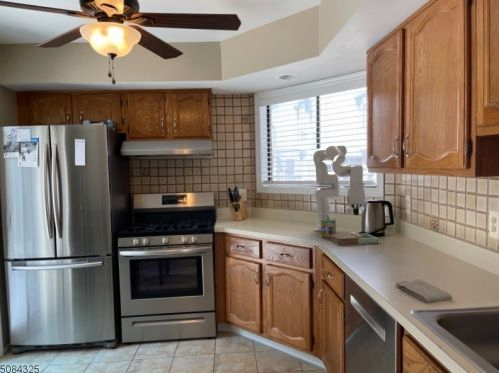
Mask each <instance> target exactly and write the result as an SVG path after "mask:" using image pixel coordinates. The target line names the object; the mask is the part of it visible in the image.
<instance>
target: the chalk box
mask: <svg viewBox="0 0 499 373" xmlns="http://www.w3.org/2000/svg"><path fill="white" fill-rule="evenodd" d="M327 218H328V219H323V220H322V221H321V226H322V231H321V238H324V239H325V238H326V239H330V234H337V219H335V218H334V219H333V218H330V219H329V217H328V215H327Z"/></svg>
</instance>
